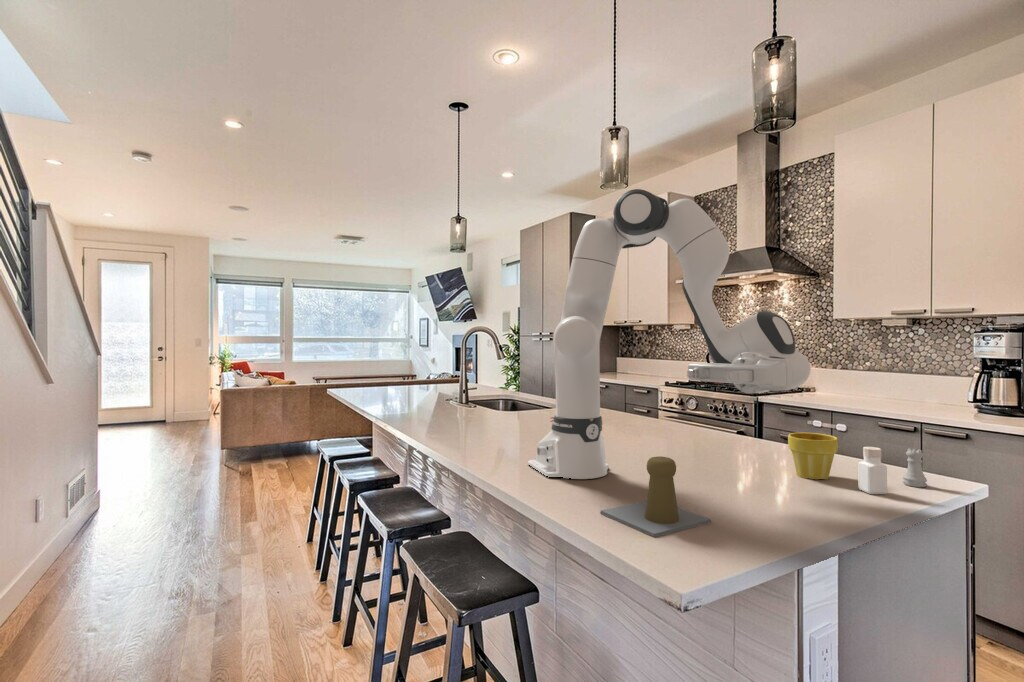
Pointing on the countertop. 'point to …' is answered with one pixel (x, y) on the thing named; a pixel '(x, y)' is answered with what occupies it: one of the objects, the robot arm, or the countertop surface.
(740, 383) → the robot arm
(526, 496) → the countertop surface
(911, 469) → the rook chess piece
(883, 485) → the salt shaker
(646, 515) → the olive chess pawn
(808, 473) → the plant pot
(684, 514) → the plate
